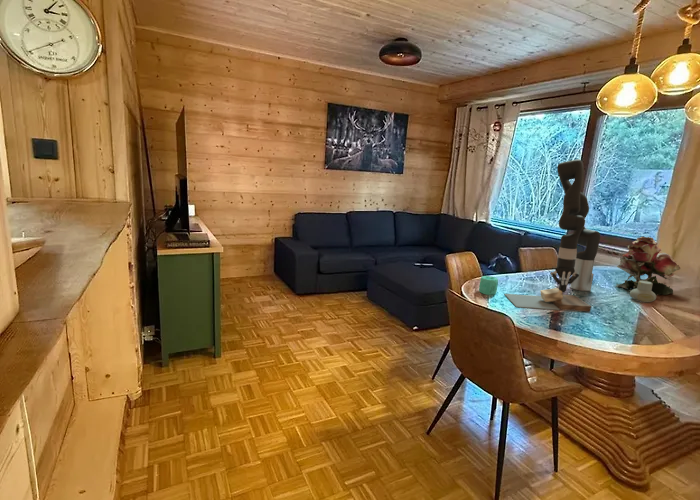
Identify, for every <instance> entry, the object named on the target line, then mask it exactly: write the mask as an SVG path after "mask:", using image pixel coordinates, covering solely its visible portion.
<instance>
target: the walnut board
mask: <svg viewBox="0 0 700 500" xmlns="http://www.w3.org/2000/svg"><path fill="white" fill-rule="evenodd" d="M550 302H551V303H553V304H554V305H555V306H556V307H558V308H559V309H560V310H562V311H563V310H564V311H565V310H566V311H576V312H577V311H579V312H591V309H592V308H591V307H592V306H591V305H590V304H589V303H586V302H585V301H584V300H583V299H581V298H580V297H578V296H576V295H573V294H572V295H571V294H563V300H557V301H550Z"/></svg>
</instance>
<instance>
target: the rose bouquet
mask: <svg viewBox="0 0 700 500" xmlns="http://www.w3.org/2000/svg"><path fill="white" fill-rule="evenodd" d="M631 243H632V245H630V244H629V245H628V246H627V250H628V252H626V253H625V254H622V256H621V257H620V259H619V264H618V265H617V266H616V267H617V268H618V269H621V270H622V271H624V272H625V273H627V274H629V276H628V277H627V280H626V279H624V282H623V283H615V287H617V288H623V289H625V290H627V291H629V292H631V290H633V289H636V288H637V286H638V282H639V281H648V282H651V283H652V284H653V285H652V290H651V291H652V292H654V293H655V295H656V296H659V295H664V296H666V295H670V294H674V289H673V288H671V286H667V284H664V283H662V282H658V280H657V276H659V277H661V278H662V279H665V280H669V278H672V277H674V272H676V271H680V270H681V267H680V265H679V264H677V261H676V260H674V257H673V255H670V254H668V253H667V252H661V251H662V249H661V248H659V246H658V243H657V242H656V240H654V237H651V236H641V237H637V238H636V240H635V241H632V242H631ZM645 275H646V276H647V278H644V279H643V278H641V276H645ZM666 276H667V277H669V278H667V277H666ZM632 277H633V279H634V280H633V279H631V280H630V278H632Z"/></svg>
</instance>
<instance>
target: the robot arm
mask: <svg viewBox="0 0 700 500" xmlns="http://www.w3.org/2000/svg"><path fill="white" fill-rule="evenodd" d="M584 166H585V165H584V163H583V161H582V160H581V159H577V158H576V159H573V160H568V161H563V162H559V163H558V164H557V175H558V178H559V180H560V183H561V186H562V189H563V191H564V196H563V199H562V201H563V203H562V204H563V207H562V213H561V215H560V218H559V220H558V227H559V228H560V229H561V230H563V231H572V233H569V234H568V233H567V234H564V235H561V237H560V243H559V248H558V255H557V263H556V267H555V270H554V271H551V272H550V274H549V275H550V276H551V277H552V279H553V280H554V281H555V283H557V284H559V286H558V289H559V290H561V291H562V293H566V291H567V287H568V285H570V286H569V287H570V288H571V289H573V290H575V291H581V292H589V291H590V292H591V290H592V286H593V285H592V284H593V279H594V275H595V274H594V273H593V270H594V265H595V258H596V256H597V254H598V250H599V245H600V243H601V234H600V231H597V230H594V229H587V228H586V226H585V225H586V217H587V216H588V215H589V212H590V206H589V202H588V198H587V197H586V195H585V194H584V193H583V192H581V191H582V187H583V181H584V174H585V168H584ZM570 180H573V182H572V183H571V181H570ZM578 245H579V246H583V247H585V250H583V251H578V250H577V249H578ZM557 276H558V277H557Z"/></svg>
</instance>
